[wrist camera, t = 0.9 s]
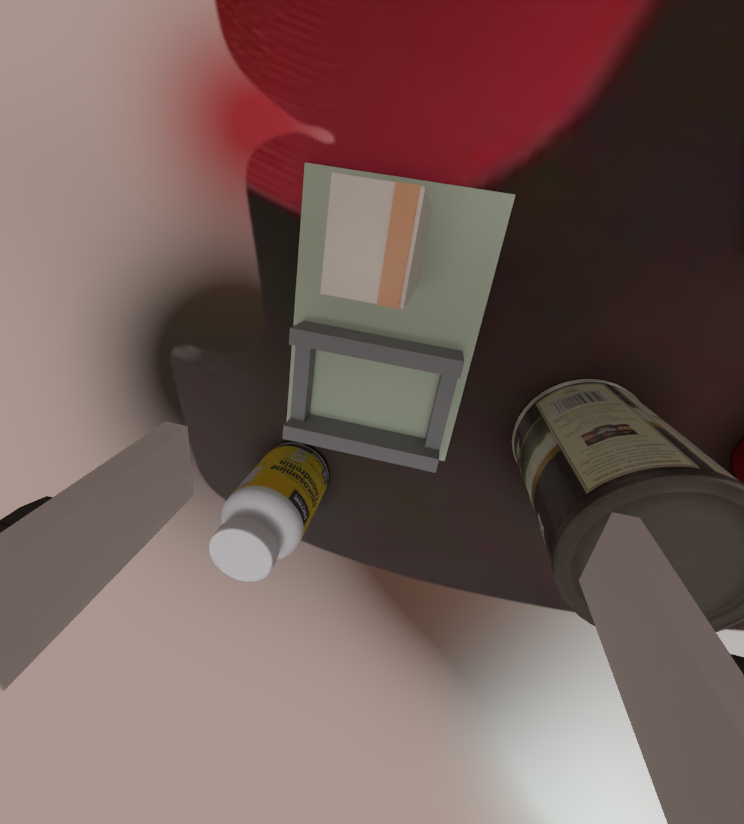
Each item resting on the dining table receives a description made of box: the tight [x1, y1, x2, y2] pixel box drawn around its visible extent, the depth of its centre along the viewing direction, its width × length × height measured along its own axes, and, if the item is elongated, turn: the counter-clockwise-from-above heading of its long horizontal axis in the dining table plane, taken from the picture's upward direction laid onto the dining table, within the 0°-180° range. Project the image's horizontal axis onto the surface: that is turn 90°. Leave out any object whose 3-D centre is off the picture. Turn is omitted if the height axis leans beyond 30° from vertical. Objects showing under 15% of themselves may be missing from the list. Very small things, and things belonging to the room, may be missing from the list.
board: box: [283, 162, 515, 473], centre depth 29 cm, size 20×14×4 cm
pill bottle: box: [209, 443, 329, 582], centre depth 33 cm, size 6×6×12 cm
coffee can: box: [512, 379, 744, 632], centre depth 26 cm, size 10×10×14 cm
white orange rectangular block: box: [320, 172, 433, 309], centre depth 22 cm, size 5×4×11 cm
